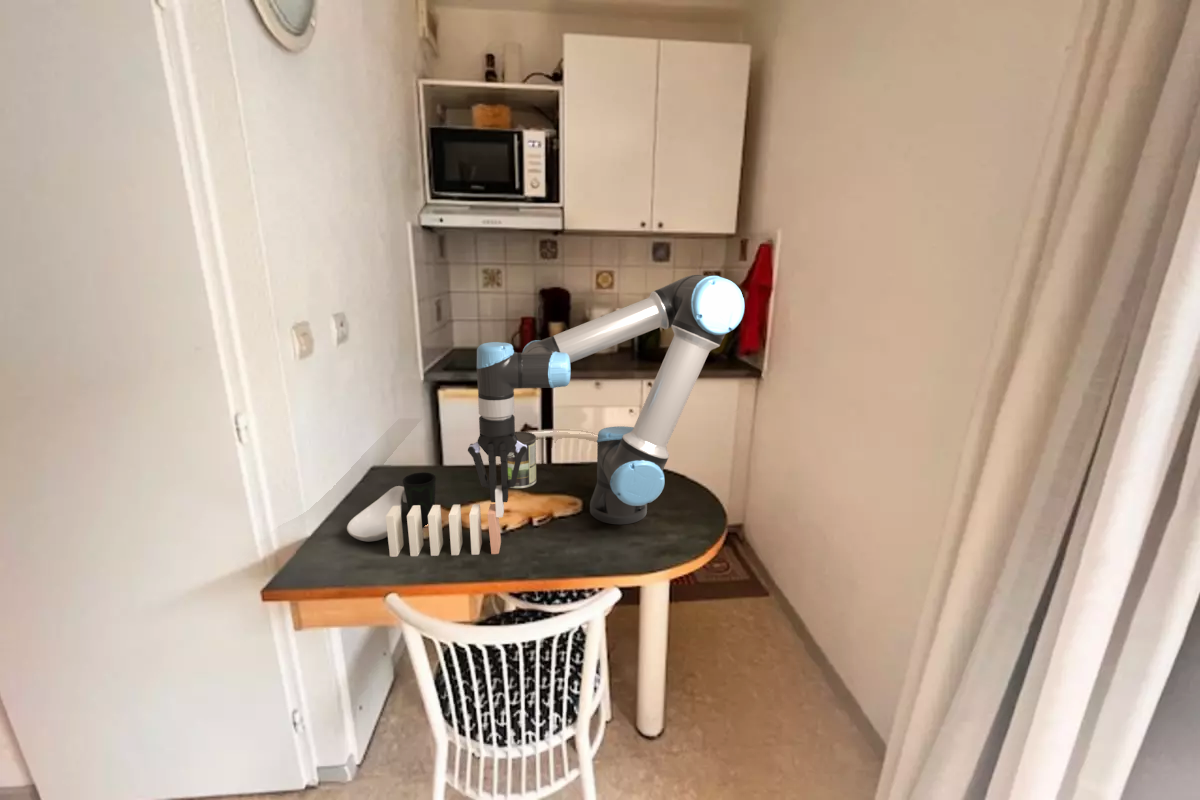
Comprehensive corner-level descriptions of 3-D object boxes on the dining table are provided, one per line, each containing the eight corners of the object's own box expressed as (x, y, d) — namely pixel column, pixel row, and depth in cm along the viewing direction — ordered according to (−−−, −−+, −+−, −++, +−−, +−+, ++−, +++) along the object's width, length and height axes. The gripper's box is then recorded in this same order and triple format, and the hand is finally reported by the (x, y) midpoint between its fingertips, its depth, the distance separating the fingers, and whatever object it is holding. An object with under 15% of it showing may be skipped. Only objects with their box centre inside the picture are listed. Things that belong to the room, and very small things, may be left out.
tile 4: (423, 544, 122) (420, 505, 119) (417, 556, 117) (414, 515, 115) (416, 544, 122) (413, 505, 119) (410, 556, 117) (406, 515, 114)
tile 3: (443, 543, 122) (440, 504, 120) (438, 555, 117) (435, 515, 115) (436, 543, 122) (433, 505, 120) (431, 555, 117) (427, 515, 115)
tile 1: (482, 542, 123) (480, 504, 120) (478, 554, 118) (476, 514, 115) (475, 543, 123) (473, 504, 120) (471, 554, 118) (469, 514, 115)
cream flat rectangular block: (403, 544, 122) (400, 505, 119) (397, 556, 117) (393, 516, 114) (396, 544, 122) (392, 505, 119) (389, 556, 117) (385, 516, 114)
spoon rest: (385, 551, 119) (382, 522, 118) (338, 546, 121) (334, 518, 119) (431, 504, 142) (429, 479, 140) (390, 501, 144) (388, 476, 142)
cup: (406, 517, 134) (402, 474, 131) (437, 513, 137) (434, 470, 133) (407, 532, 127) (402, 486, 124) (439, 527, 130) (436, 482, 127)
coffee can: (514, 491, 150) (513, 445, 146) (495, 480, 157) (493, 436, 153) (543, 482, 156) (543, 437, 153) (524, 471, 164) (522, 429, 160)
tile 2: (462, 543, 123) (460, 504, 120) (458, 555, 118) (455, 514, 115) (455, 543, 123) (453, 504, 120) (451, 555, 118) (448, 515, 115)
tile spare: (501, 542, 123) (497, 503, 121) (498, 553, 118) (494, 513, 116) (494, 542, 123) (490, 504, 120) (491, 554, 118) (487, 514, 116)
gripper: (528, 410, 116) (529, 506, 123) (469, 410, 115) (473, 507, 122) (526, 420, 109) (527, 522, 115) (462, 420, 108) (467, 523, 114)
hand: (499, 514), depth 119 cm, fingers closed
